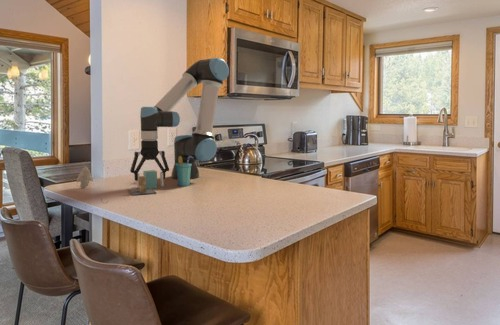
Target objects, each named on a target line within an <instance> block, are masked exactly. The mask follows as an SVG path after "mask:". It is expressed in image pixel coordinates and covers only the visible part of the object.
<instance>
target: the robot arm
mask: <svg viewBox="0 0 500 325" xmlns="http://www.w3.org/2000/svg"><path fill="white" fill-rule="evenodd" d="M229 73H230V70H229V66H228V64H227V61H225V60H224V59H223V58H222V57H212V58H206V59H199V60H197V61H195V62H194V63H193V64H192V65H191V66H189V67H188V68H187V69H186V70H185V71H184V72H183V73H182V76H181V78H180V79H179V80H178V81H177V83H175V85H173V86H172V87H171V89H169V91H168V92H166V93H165V95H163V97H161V99H160V100H158V102H157V103H156V104H155V105H154V106H142V107H141V108H140V112H139V113H140V116H139V117H140V139H141V141H140V148H141V150H140V151H134V153H133V155H134V157H133V159H132V163H131V167H130V170H129V171H130V173H131V174H134V181H135V182H136V188H137V189H139V177H138V176H140V173H139V172H140V170H141V169H142V166H143V165H144V163H145V162H146V161H153V160H154V161H155V163H156V165H157V166H158V167H159V168H160V177H159V178H160V181H159V182H160V186H161V187H164V180H166V172H169V171H170V168H169V164H168V162H167V159H166V154H165V153H166V152H165V151H164V150H159V149H158V148H159V146H158V144H159V143H158V138H159V137H158V135H159V134H158V128H174V127H175V128H176V127H179V125H180V122H181V121H180V120H181V117H180V113H178V112H177V111H173V109H174V108H175V107H176V106H177V105H178V104H179V103H180V101H181V100H183V98H185V96H186V95H187V94H188V93H189V92H190V91H191V90H192V89H194V88H196V87H198V85H199V84H201V85H202V89H201V95H200V102H199V107H198V114H197V120H196V128H195V130H194V131H193V132H191V134H184V135H183V134H182V135H176V136H175V137H174V140H173V146H174V147H173V148H174V149H173V150H174V152H173V153H174V164H173V168H172V170H171V178H172V179H177V180H178V176H177V166H176V164H177V163H179V162H178V157H179V156H181V157H182V160H183V163H187V159H188V157H189V156H192V157H194V159H192V158H189V163H191V164H192V166H191V172H190V180H191V179H197V178H200V172H199V168H198V165H197V161H202V162H203V161H204V162H205V161H210V160H212V159H213V158H214V157H215V155H216V153H217V151H218V150H217V149H218V145H217V142H216V141H215V136H214V133H213V130H214V129H213V128H214V121H215V117H216V116H215V115H216V111H217V110H216V109H217V103H218V96H219V91H220V88H222V87H223V84H224V83H223V82H224V81H225V80H226V79H228V77H229ZM140 155H141V156H142V157H141V159H140V161H139V163H138V159H139V157H140ZM158 155H159V156H160V157H161V160H162V163H163V165H162V163H161V162H160V160H159V158H158V157H157V156H158ZM137 163H138V164H137Z"/></svg>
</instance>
